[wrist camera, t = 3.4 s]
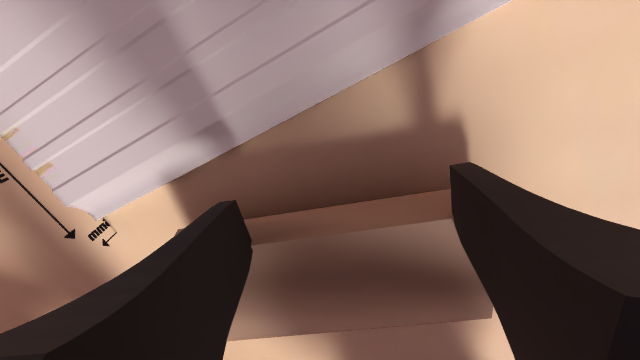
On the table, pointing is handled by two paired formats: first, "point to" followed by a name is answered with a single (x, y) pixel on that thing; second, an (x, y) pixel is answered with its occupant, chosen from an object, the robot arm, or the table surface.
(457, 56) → the table surface
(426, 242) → the plank
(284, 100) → the baseboard
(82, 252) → the table surface
